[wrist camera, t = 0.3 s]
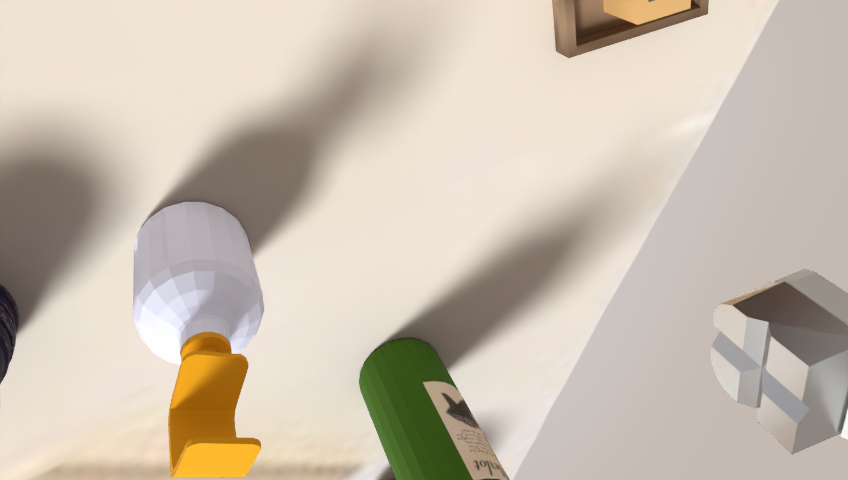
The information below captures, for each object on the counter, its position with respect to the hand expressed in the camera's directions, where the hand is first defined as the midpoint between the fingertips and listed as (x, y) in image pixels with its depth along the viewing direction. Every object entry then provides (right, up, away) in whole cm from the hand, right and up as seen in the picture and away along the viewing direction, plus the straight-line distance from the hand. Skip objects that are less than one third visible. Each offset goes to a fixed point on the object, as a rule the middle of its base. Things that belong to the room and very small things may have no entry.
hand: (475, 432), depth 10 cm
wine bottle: (-3, -11, +63) cm, 64 cm away
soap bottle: (-20, +2, +48) cm, 53 cm away
